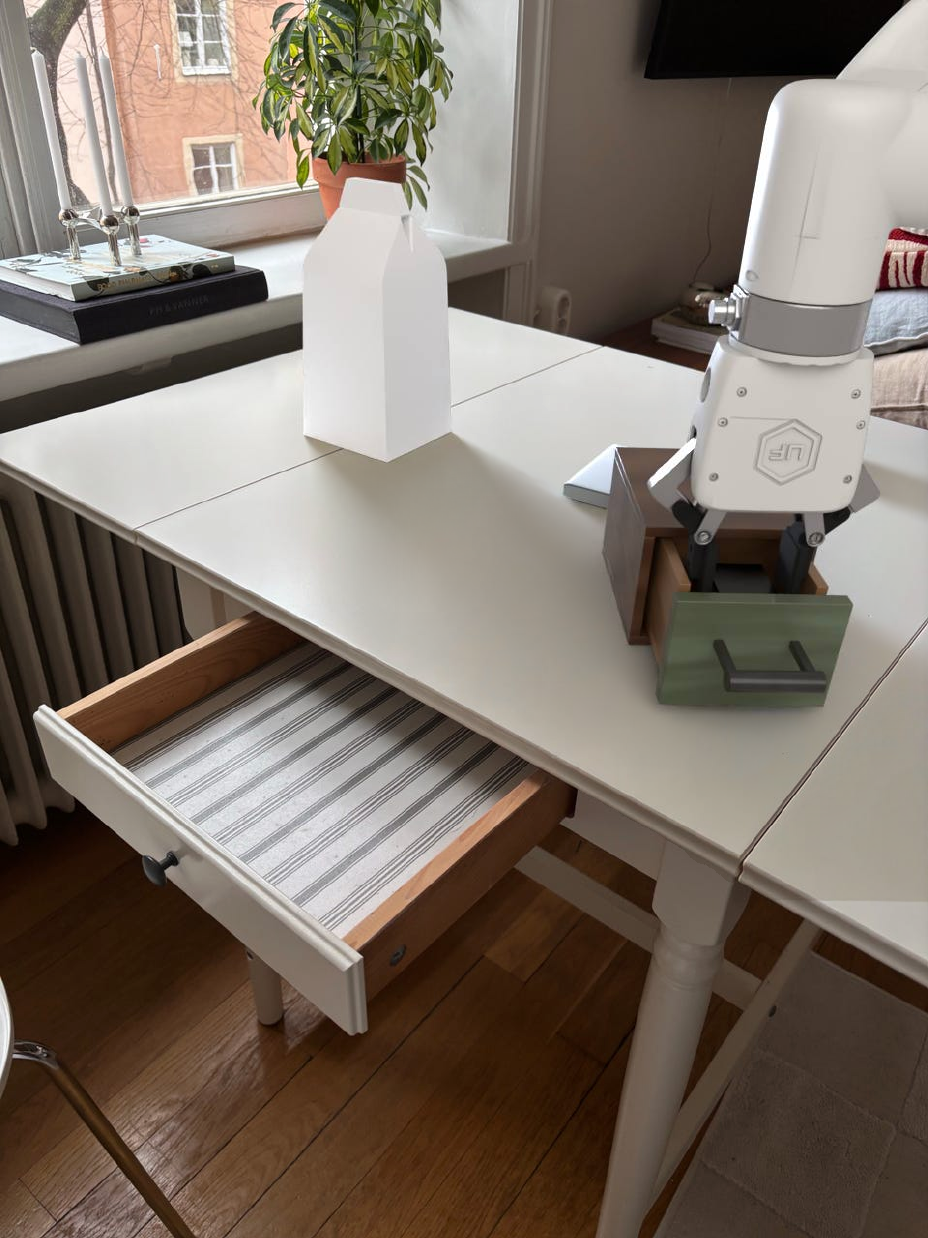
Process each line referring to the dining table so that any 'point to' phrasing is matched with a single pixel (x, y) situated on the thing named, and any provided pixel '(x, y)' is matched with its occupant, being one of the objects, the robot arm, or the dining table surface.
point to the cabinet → (656, 530)
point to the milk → (375, 328)
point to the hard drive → (593, 480)
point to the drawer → (741, 632)
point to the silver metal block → (741, 579)
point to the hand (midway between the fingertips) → (742, 585)
